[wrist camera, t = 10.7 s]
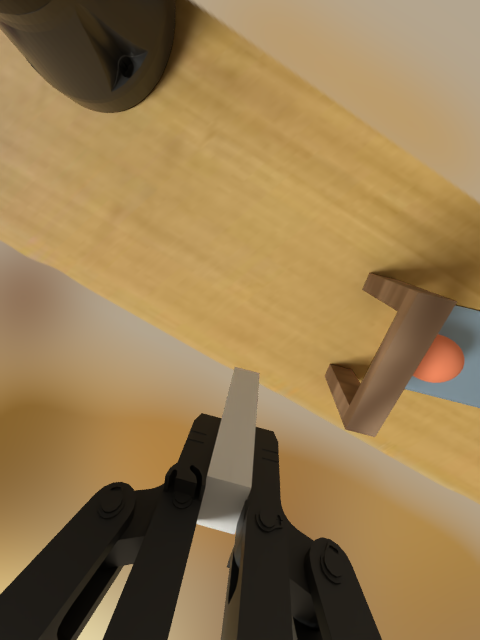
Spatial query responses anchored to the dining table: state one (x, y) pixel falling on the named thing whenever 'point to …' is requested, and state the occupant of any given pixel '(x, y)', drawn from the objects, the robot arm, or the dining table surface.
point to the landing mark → (476, 376)
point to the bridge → (389, 354)
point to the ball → (441, 361)
